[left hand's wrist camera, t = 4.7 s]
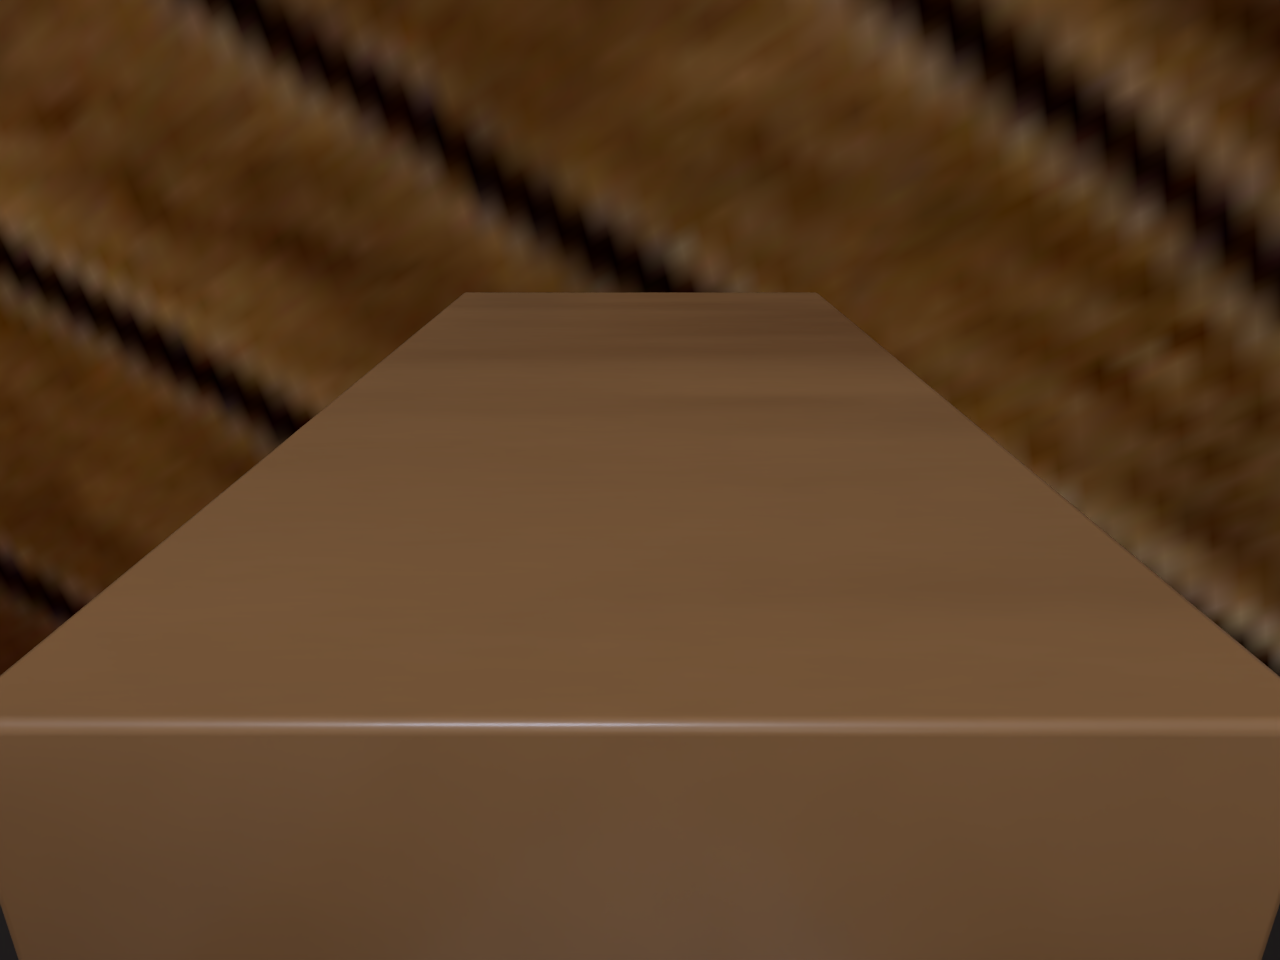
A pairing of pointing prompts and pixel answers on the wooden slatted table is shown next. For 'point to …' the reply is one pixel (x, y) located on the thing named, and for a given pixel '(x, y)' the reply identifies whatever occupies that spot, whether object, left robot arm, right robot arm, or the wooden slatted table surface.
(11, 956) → the left robot arm
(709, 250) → the wooden slatted table surface
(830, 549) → the box
